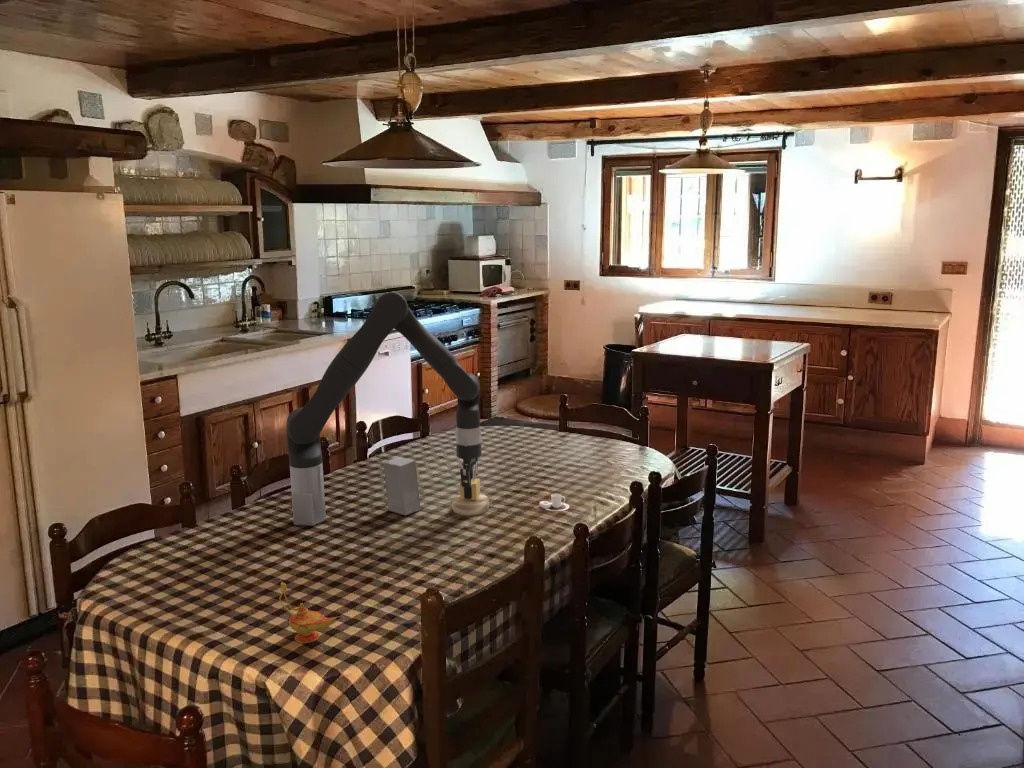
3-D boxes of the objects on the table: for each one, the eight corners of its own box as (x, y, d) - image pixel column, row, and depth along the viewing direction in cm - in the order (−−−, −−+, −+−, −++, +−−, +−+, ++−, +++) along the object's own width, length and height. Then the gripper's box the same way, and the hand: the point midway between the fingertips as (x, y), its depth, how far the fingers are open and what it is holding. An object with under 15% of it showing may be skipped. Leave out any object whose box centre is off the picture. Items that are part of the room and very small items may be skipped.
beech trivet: (484, 516, 242) (484, 505, 241) (448, 514, 243) (448, 504, 243) (491, 503, 252) (491, 493, 252) (457, 502, 254) (456, 492, 253)
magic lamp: (334, 657, 165) (331, 606, 163) (269, 635, 174) (266, 587, 172) (356, 641, 171) (354, 592, 168) (293, 622, 180) (290, 575, 177)
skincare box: (421, 510, 247) (419, 460, 244) (402, 517, 242) (400, 465, 239) (403, 504, 253) (400, 455, 250) (384, 510, 248) (382, 460, 244)
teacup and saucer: (536, 509, 247) (536, 497, 247) (547, 501, 254) (547, 489, 254) (562, 514, 243) (562, 501, 243) (573, 506, 250) (573, 493, 249)
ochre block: (476, 499, 244) (476, 483, 243) (460, 499, 245) (459, 483, 244) (480, 494, 249) (479, 478, 248) (464, 493, 250) (463, 478, 249)
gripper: (461, 434, 251) (463, 487, 255) (450, 447, 237) (452, 503, 241) (485, 435, 250) (486, 488, 253) (476, 447, 236) (477, 504, 239)
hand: (470, 495), depth 247 cm, fingers closed on ochre block, 5 cm apart
